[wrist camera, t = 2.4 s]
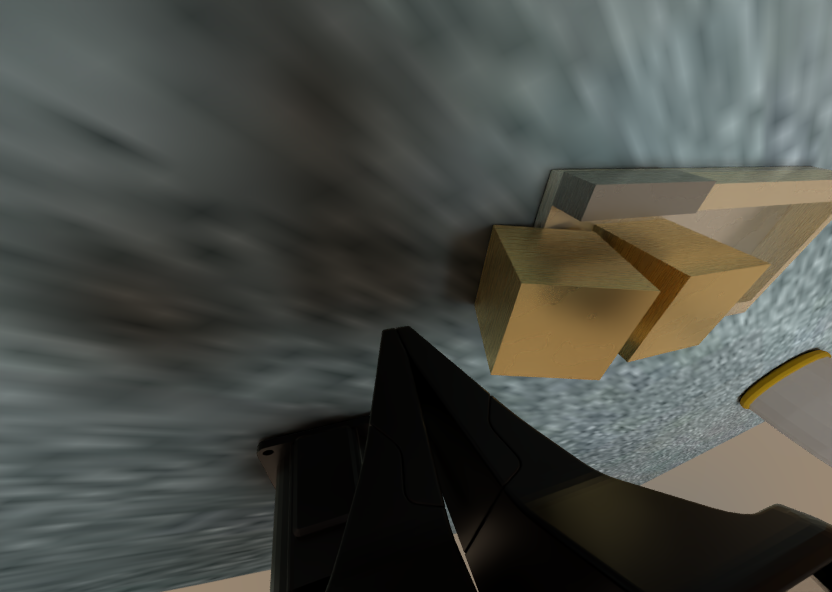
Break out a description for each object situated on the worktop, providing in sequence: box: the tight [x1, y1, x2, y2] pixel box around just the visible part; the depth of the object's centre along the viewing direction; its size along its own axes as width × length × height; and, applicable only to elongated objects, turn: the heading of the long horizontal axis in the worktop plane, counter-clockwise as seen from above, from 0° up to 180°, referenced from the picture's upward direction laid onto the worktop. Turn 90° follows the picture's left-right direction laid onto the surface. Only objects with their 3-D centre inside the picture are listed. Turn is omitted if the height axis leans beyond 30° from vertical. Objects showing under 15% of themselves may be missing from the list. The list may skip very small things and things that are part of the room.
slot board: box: [534, 166, 832, 316], centre depth 15 cm, size 16×8×2 cm, turn 86°
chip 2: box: [592, 219, 771, 362], centre depth 13 cm, size 4×4×4 cm
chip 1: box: [474, 225, 661, 380], centre depth 11 cm, size 4×4×4 cm
